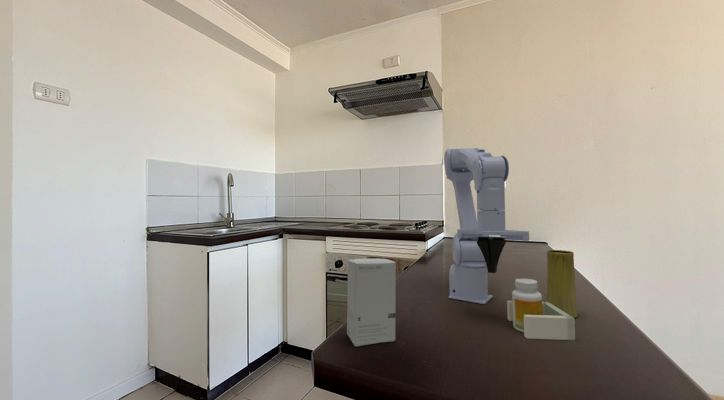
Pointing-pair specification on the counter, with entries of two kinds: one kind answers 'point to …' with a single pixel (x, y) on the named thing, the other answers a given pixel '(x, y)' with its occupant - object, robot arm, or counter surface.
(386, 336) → the skincare box
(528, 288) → the supplement bottle
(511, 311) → the bracket
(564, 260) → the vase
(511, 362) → the counter surface
